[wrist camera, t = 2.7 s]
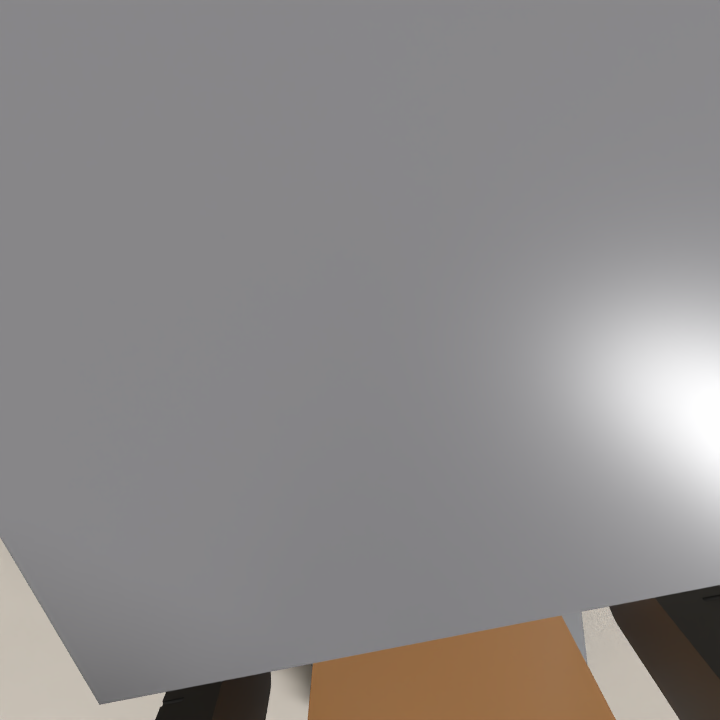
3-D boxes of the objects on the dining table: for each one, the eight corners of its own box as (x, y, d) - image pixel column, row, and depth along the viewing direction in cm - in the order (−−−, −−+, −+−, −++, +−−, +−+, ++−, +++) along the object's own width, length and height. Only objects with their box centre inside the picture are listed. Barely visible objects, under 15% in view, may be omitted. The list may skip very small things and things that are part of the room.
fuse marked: (470, 439, 12) (734, 945, 4) (490, 554, 14) (726, 1132, 5) (330, 470, 13) (281, 1010, 4) (363, 580, 14) (378, 1176, 5)
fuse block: (490, 76, 11) (2028, -1515, 1) (569, 682, 18) (870, 1330, 8) (158, 165, 12) (-1229, -206, 1) (354, 722, 19) (355, 1377, 8)
